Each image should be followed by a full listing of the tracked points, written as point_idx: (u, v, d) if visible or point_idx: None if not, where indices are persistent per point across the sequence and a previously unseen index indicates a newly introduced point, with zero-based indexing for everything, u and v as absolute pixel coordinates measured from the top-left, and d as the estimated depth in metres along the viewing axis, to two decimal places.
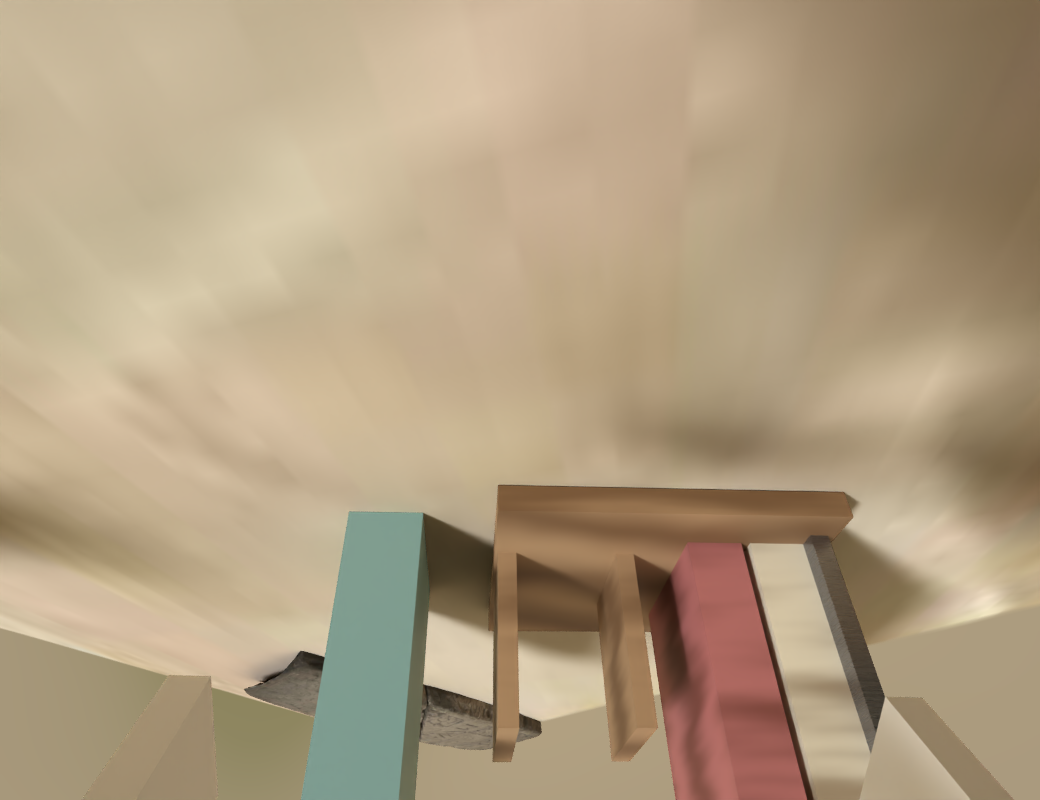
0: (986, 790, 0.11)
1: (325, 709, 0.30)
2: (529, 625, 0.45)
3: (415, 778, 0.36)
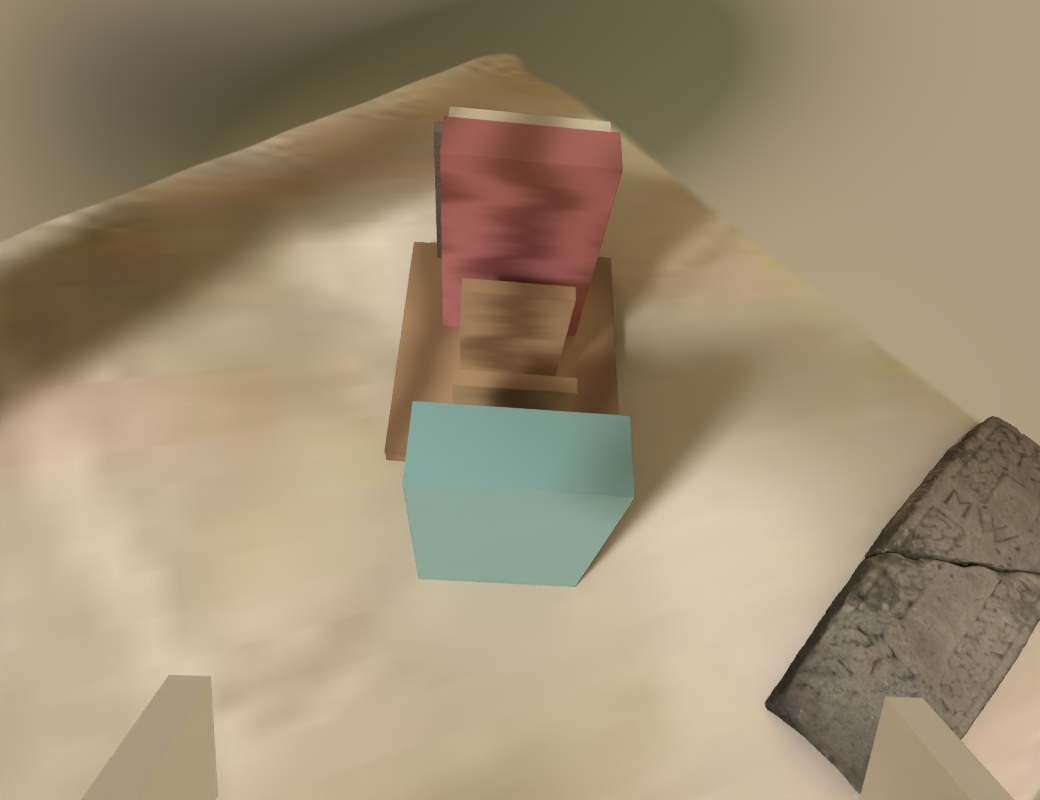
0: (986, 790, 0.11)
1: None
2: None
3: None
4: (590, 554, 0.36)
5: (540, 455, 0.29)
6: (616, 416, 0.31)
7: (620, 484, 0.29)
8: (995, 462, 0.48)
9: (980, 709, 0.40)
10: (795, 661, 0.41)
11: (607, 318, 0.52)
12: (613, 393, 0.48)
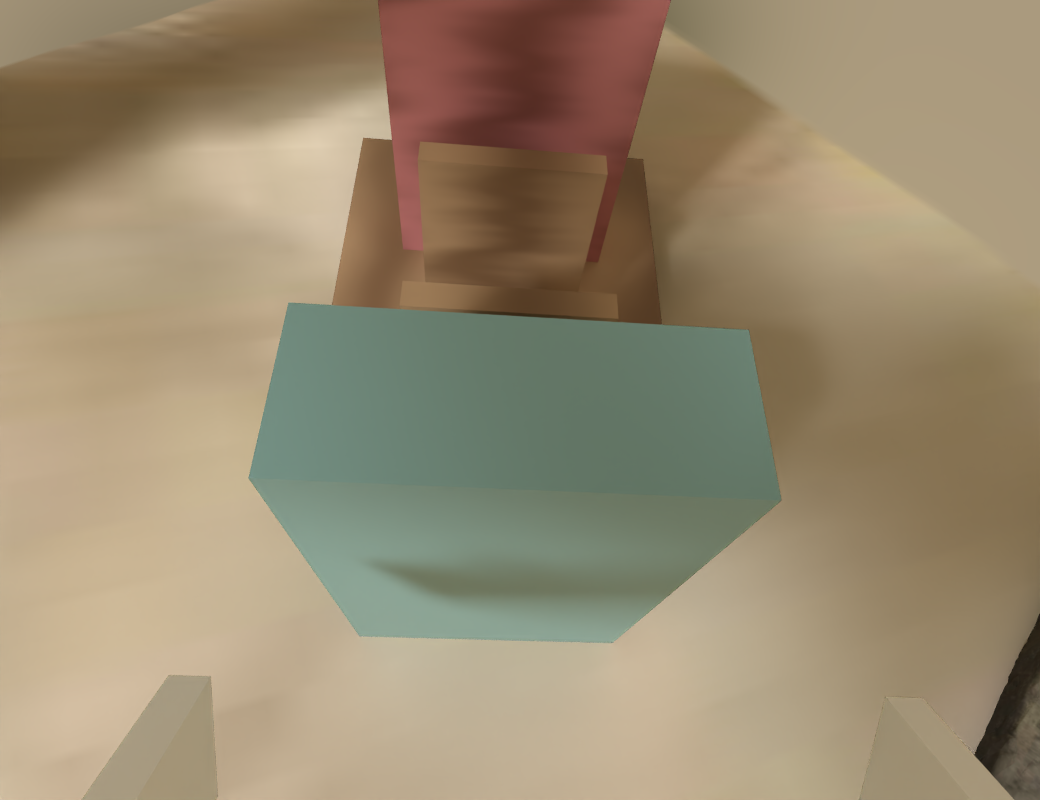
0: (986, 790, 0.11)
1: None
2: None
3: None
4: (649, 602, 0.20)
5: (565, 410, 0.13)
6: (720, 331, 0.15)
7: (746, 471, 0.13)
8: None
9: None
10: None
11: (643, 238, 0.35)
12: None
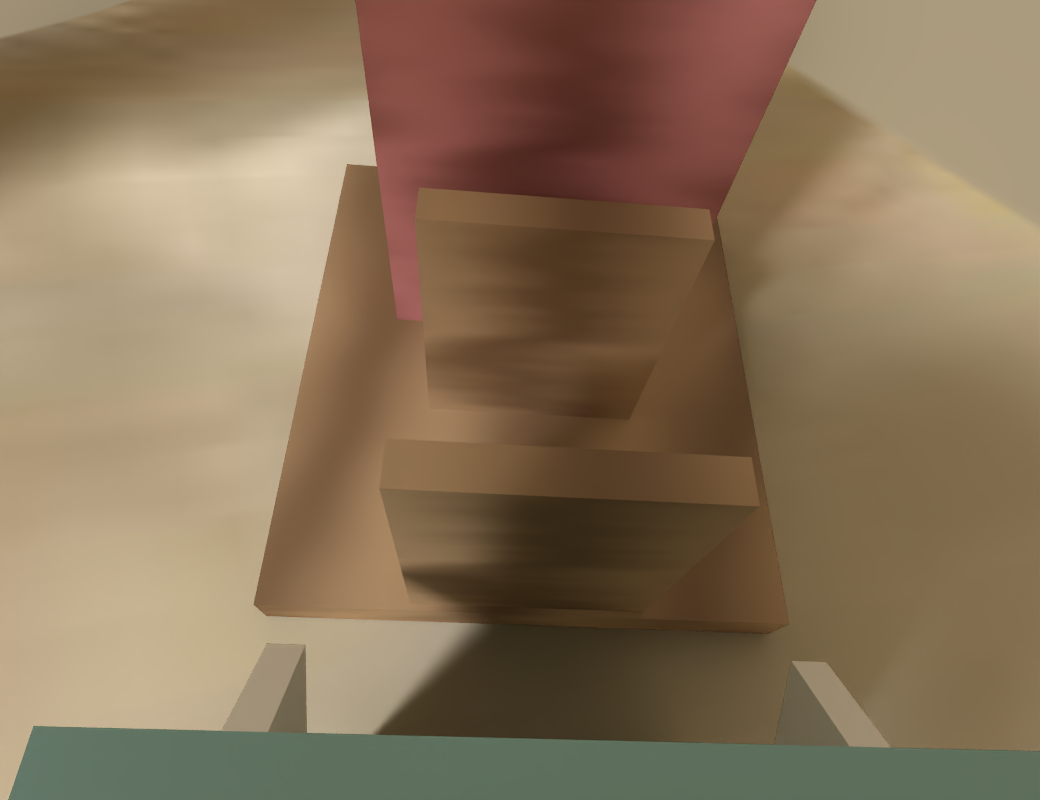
0: (868, 741, 0.12)
1: None
2: (744, 535, 0.22)
3: None
4: None
5: None
6: None
7: None
8: None
9: None
10: None
11: (720, 301, 0.26)
12: (751, 454, 0.23)
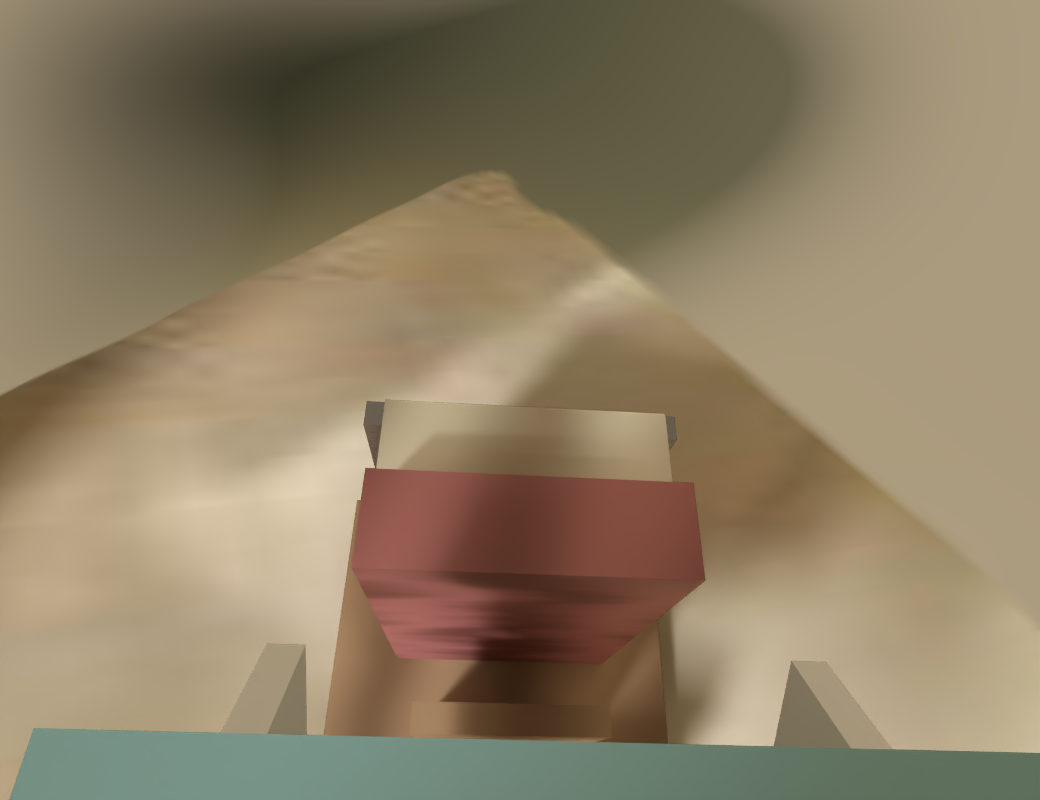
0: (868, 741, 0.12)
1: None
2: None
3: None
4: None
5: None
6: None
7: None
8: None
9: None
10: None
11: (648, 626, 0.34)
12: None
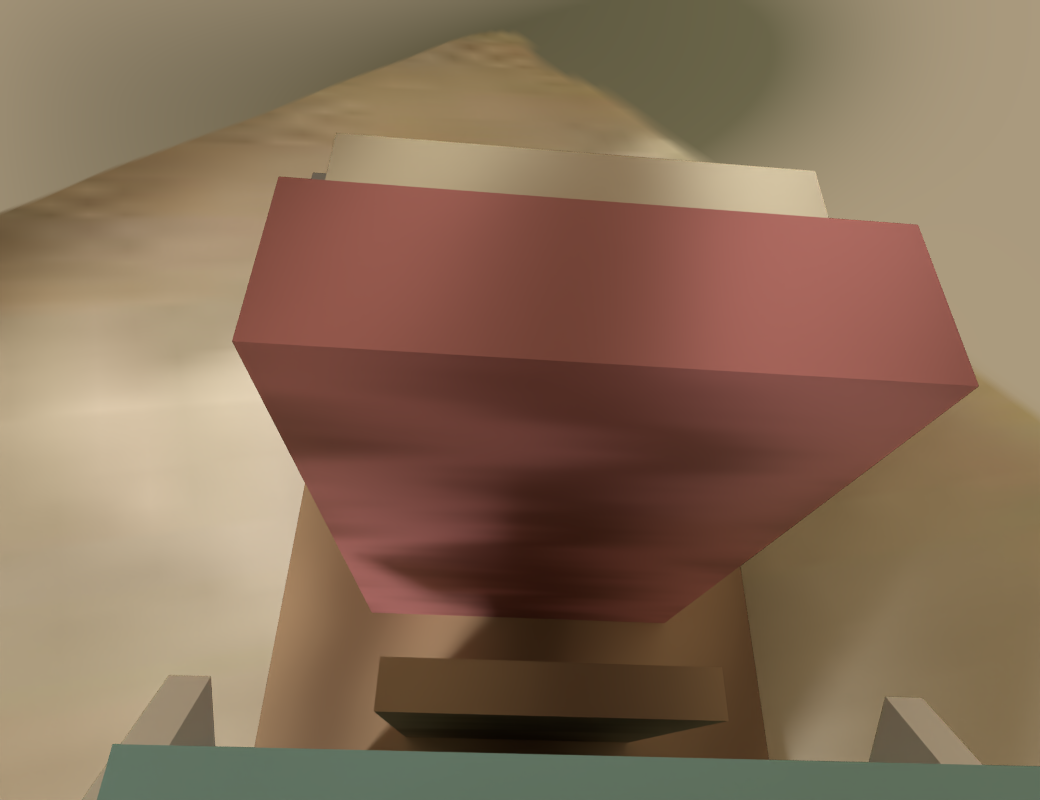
0: None
1: None
2: None
3: None
4: None
5: None
6: None
7: None
8: None
9: None
10: None
11: None
12: None
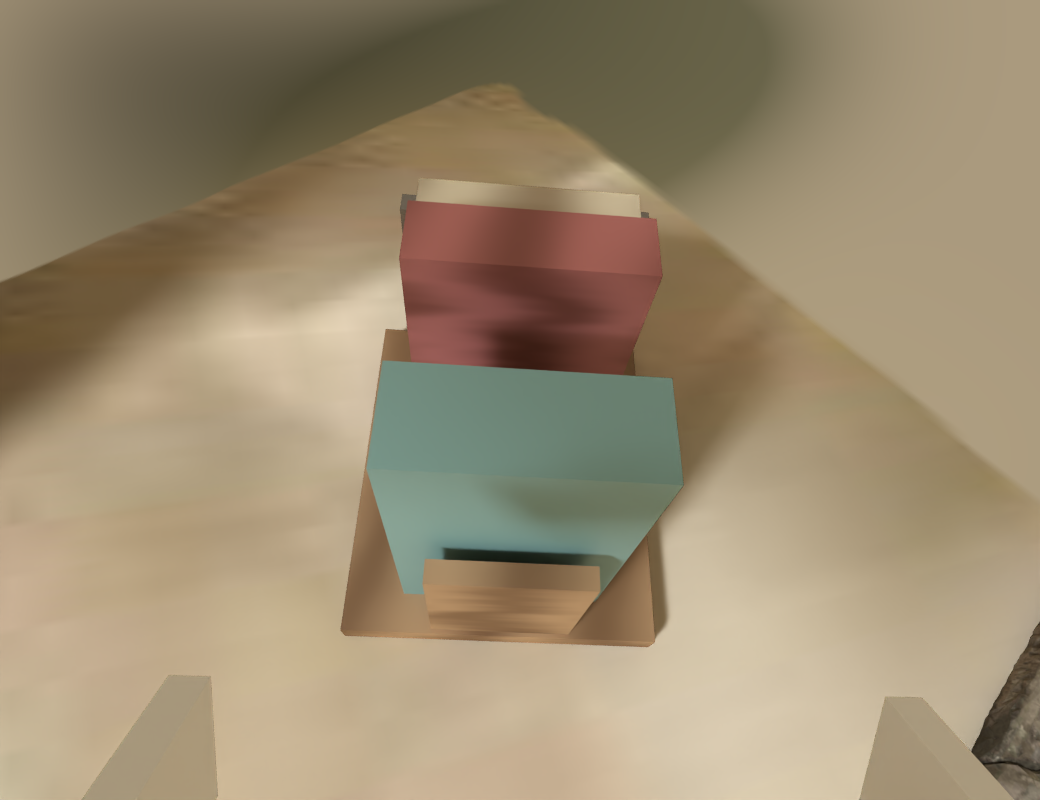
0: (986, 790, 0.11)
1: None
2: (633, 587, 0.36)
3: None
4: (616, 562, 0.29)
5: (554, 429, 0.22)
6: (654, 379, 0.23)
7: (663, 467, 0.21)
8: None
9: None
10: None
11: None
12: None
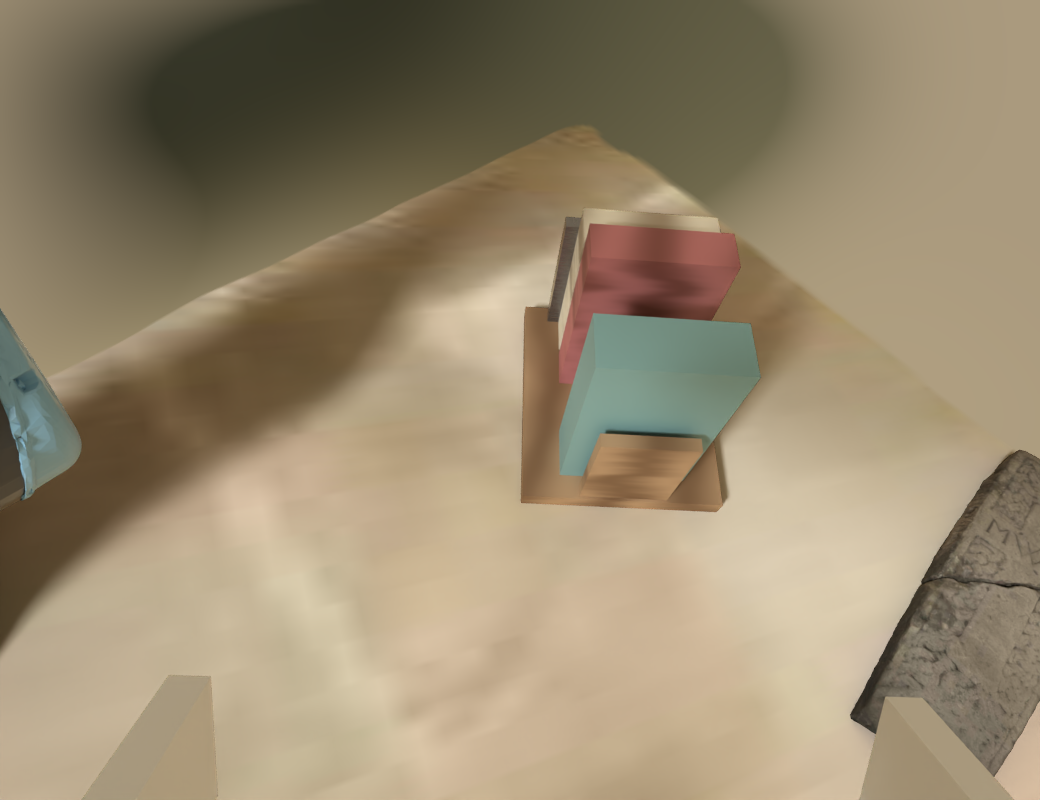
0: (986, 790, 0.11)
1: (579, 409, 0.45)
2: (706, 473, 0.54)
3: None
4: (707, 441, 0.47)
5: (689, 349, 0.40)
6: (740, 323, 0.42)
7: (749, 368, 0.40)
8: (1026, 491, 0.56)
9: (1032, 710, 0.47)
10: (873, 677, 0.48)
11: None
12: None
